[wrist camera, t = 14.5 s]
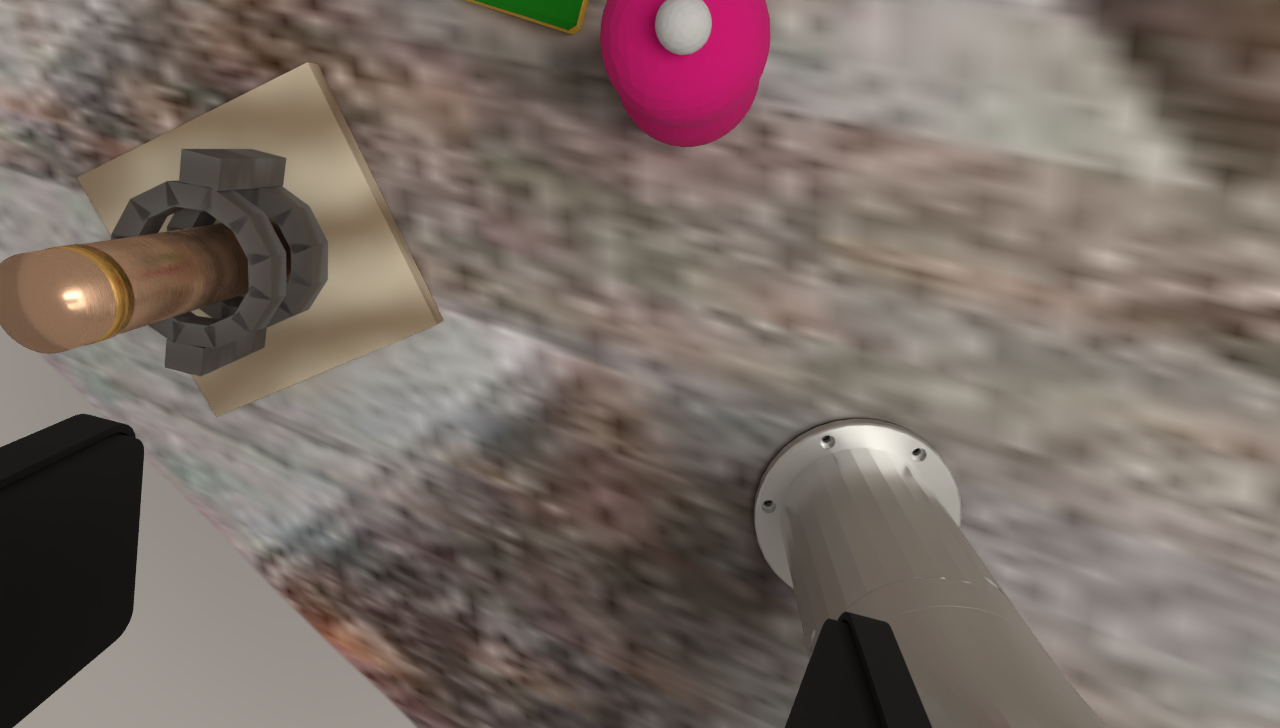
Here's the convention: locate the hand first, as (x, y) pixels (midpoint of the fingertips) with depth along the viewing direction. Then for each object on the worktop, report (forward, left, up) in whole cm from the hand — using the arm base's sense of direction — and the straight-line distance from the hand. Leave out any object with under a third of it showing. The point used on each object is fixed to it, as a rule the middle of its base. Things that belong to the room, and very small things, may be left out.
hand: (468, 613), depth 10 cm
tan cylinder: (+9, +21, -35) cm, 42 cm away
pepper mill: (+8, -6, -36) cm, 38 cm away
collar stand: (+9, +21, -36) cm, 43 cm away
